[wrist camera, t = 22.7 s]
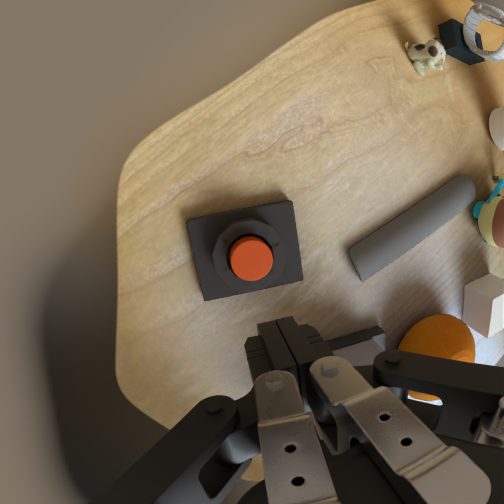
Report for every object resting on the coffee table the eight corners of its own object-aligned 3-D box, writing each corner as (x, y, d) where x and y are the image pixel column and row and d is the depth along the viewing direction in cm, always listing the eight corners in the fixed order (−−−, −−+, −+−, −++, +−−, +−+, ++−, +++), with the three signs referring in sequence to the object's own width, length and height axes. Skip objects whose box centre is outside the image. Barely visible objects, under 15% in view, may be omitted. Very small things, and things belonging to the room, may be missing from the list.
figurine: (502, 212, 37) (537, 213, 30) (477, 255, 35) (516, 260, 29) (487, 170, 35) (524, 167, 29) (460, 210, 33) (502, 210, 27)
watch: (464, 28, 28) (516, 9, 18) (471, 76, 30) (529, 63, 19) (435, 13, 27) (488, -13, 17) (442, 63, 29) (503, 43, 19)
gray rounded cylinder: (470, 201, 34) (479, 203, 32) (358, 282, 34) (365, 288, 32) (461, 172, 33) (471, 172, 31) (343, 250, 33) (350, 255, 31)
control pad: (204, 297, 32) (204, 309, 29) (186, 219, 30) (184, 224, 27) (300, 276, 33) (309, 286, 30) (289, 199, 31) (297, 202, 28)
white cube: (489, 272, 37) (517, 285, 32) (486, 308, 39) (512, 322, 33) (464, 285, 37) (493, 299, 31) (461, 321, 38) (487, 339, 33)
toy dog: (423, 79, 29) (449, 71, 25) (397, 48, 28) (421, 35, 23) (435, 65, 29) (460, 56, 24) (410, 35, 28) (434, 23, 23)
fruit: (370, 378, 38) (407, 424, 28) (408, 298, 36) (458, 332, 26) (427, 381, 40) (464, 418, 31) (462, 312, 38) (508, 341, 28)
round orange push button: (233, 278, 29) (235, 285, 27) (225, 240, 28) (227, 244, 26) (272, 270, 29) (276, 276, 28) (265, 232, 28) (269, 236, 27)
